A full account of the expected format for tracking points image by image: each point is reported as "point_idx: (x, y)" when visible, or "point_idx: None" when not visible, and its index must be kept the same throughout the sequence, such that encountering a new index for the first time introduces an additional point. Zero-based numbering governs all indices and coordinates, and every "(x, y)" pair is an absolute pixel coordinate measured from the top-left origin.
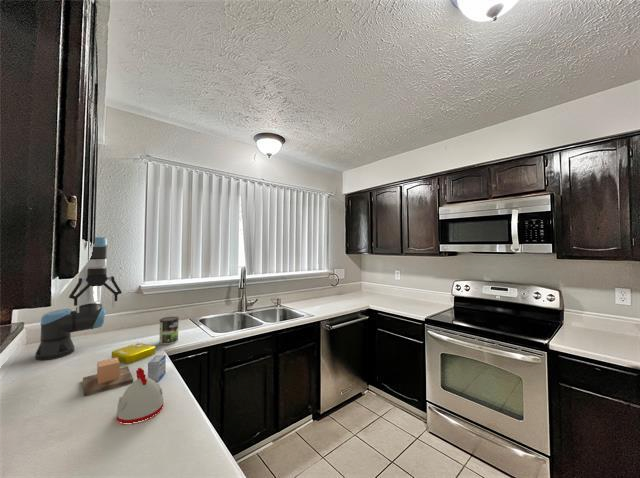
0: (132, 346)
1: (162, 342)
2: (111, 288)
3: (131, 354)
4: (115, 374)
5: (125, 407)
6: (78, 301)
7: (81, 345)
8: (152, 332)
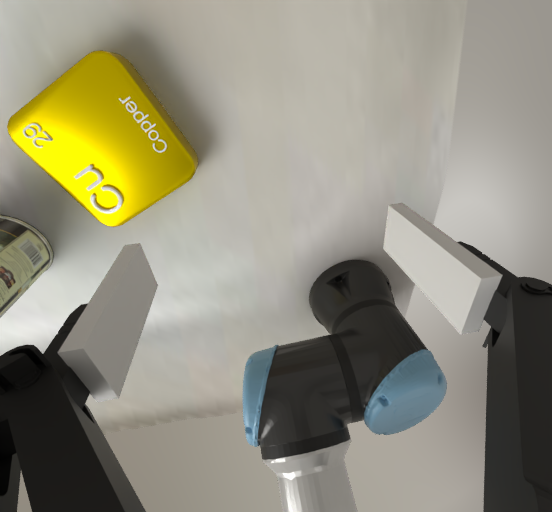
0: (122, 188)
1: (25, 229)
2: (36, 504)
3: (94, 63)
4: None
5: None
6: (466, 258)
7: (295, 330)
8: None
